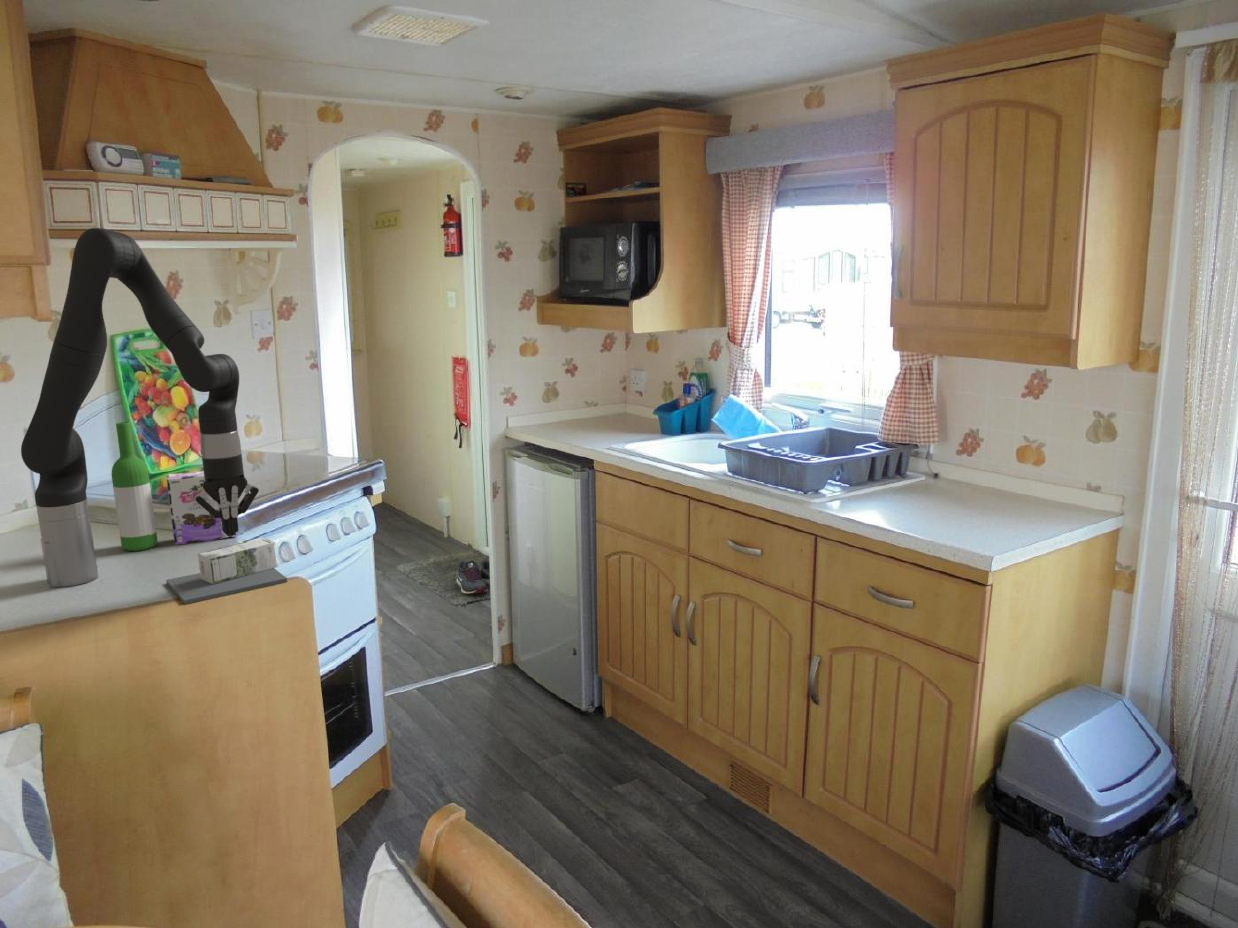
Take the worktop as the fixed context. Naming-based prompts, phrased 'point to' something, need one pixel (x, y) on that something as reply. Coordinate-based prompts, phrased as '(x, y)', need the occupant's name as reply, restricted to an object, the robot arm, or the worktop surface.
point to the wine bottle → (132, 495)
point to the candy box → (191, 510)
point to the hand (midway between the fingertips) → (231, 534)
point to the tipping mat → (221, 585)
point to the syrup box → (237, 560)
